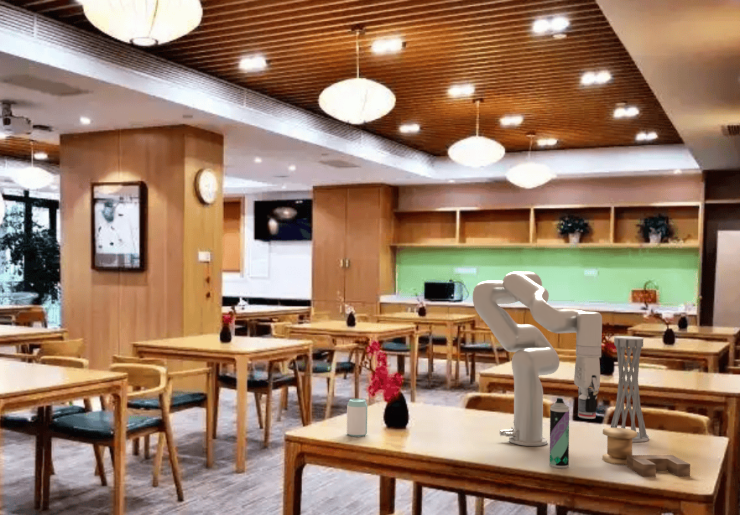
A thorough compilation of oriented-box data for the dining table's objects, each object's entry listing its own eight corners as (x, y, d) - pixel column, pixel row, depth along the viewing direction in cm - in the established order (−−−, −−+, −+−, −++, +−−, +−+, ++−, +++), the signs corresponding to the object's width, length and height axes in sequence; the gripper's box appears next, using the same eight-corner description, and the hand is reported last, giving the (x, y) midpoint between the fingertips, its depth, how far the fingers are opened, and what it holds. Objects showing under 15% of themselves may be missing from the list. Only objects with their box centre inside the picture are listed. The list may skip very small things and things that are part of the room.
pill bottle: (596, 419, 216) (597, 390, 217) (578, 418, 218) (579, 389, 218) (594, 416, 222) (595, 387, 222) (577, 414, 223) (578, 386, 223)
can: (343, 435, 243) (344, 400, 244) (351, 431, 250) (352, 397, 250) (362, 437, 241) (362, 402, 241) (370, 433, 247) (370, 399, 248)
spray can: (546, 463, 212) (547, 396, 213) (564, 463, 213) (565, 396, 213) (553, 468, 207) (554, 399, 207) (571, 468, 207) (572, 399, 208)
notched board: (643, 476, 200) (643, 464, 200) (626, 467, 210) (626, 455, 210) (690, 476, 201) (690, 464, 201) (671, 466, 211) (671, 454, 211)
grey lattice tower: (629, 443, 239) (630, 339, 240) (599, 435, 251) (600, 336, 252) (657, 439, 246) (657, 338, 247) (626, 431, 258) (627, 335, 258)
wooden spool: (610, 465, 212) (611, 435, 212) (597, 456, 221) (597, 427, 222) (642, 465, 212) (643, 435, 213) (627, 456, 222) (628, 427, 223)
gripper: (567, 347, 228) (565, 404, 228) (586, 354, 211) (585, 415, 211) (589, 348, 229) (588, 404, 228) (611, 355, 211) (609, 416, 211)
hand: (587, 409), depth 220 cm, fingers closed on pill bottle, 5 cm apart
